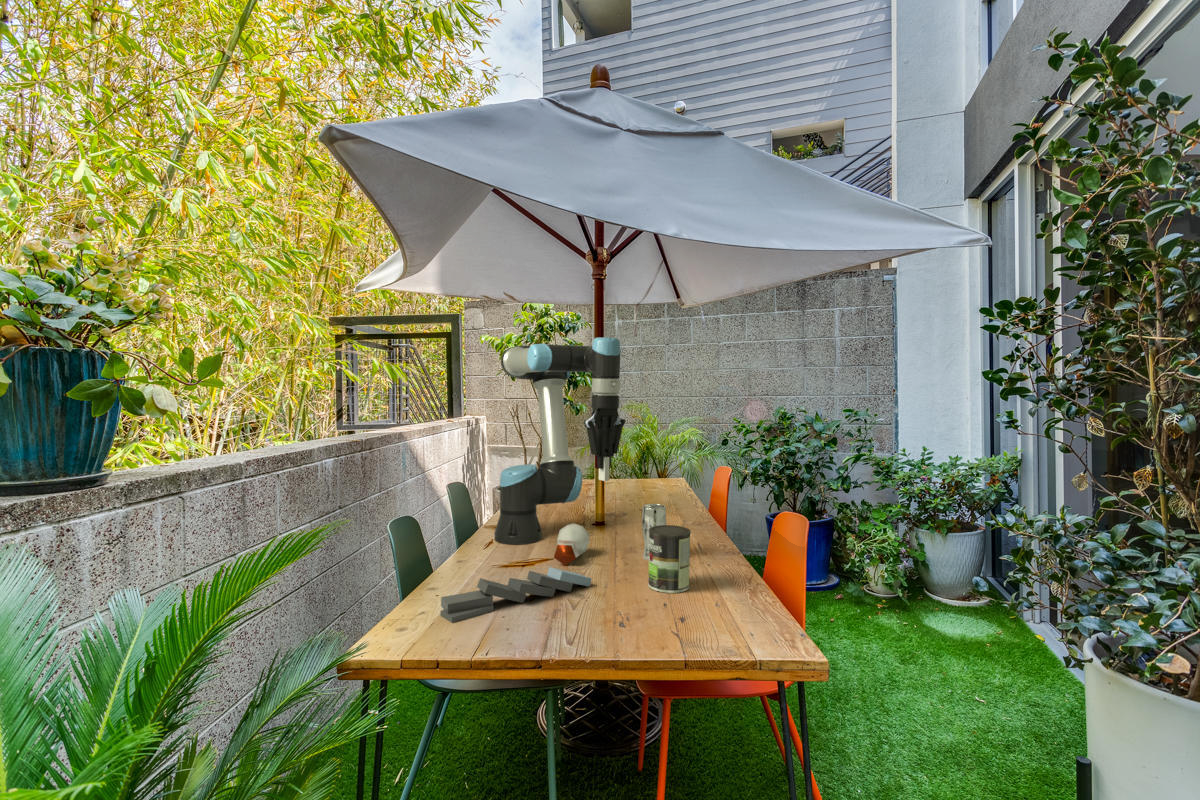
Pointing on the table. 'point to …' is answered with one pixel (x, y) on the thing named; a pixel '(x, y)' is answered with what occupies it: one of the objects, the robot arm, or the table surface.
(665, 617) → the table surface
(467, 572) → the table surface
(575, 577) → the domino
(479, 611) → the domino
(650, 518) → the silver metal cylinder
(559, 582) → the domino
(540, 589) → the domino
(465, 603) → the domino
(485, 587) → the domino
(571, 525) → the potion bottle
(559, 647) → the table surface
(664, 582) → the coffee can
